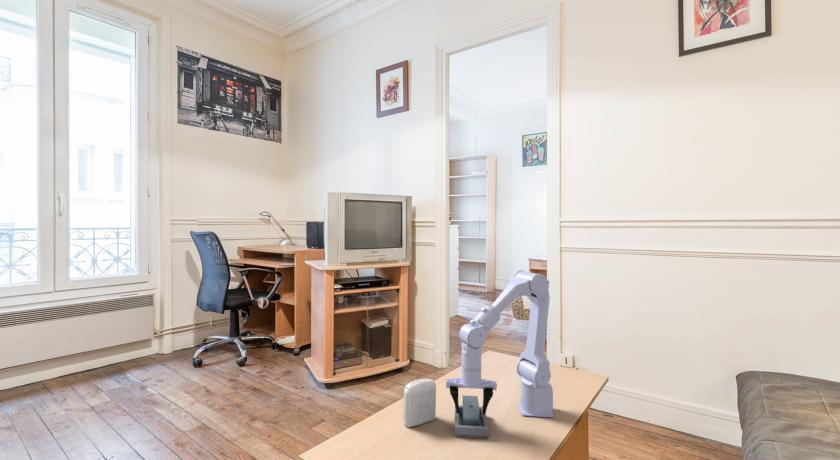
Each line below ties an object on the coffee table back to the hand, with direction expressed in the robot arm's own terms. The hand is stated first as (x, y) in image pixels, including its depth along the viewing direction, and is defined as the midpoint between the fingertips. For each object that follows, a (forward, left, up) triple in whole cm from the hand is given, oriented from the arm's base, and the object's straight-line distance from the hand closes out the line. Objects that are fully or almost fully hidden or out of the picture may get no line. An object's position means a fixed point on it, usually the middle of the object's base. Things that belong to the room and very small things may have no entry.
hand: (470, 412), depth 112 cm
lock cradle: (0, 0, -4) cm, 4 cm away
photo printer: (+15, -1, -4) cm, 16 cm away
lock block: (0, 0, -3) cm, 3 cm away
